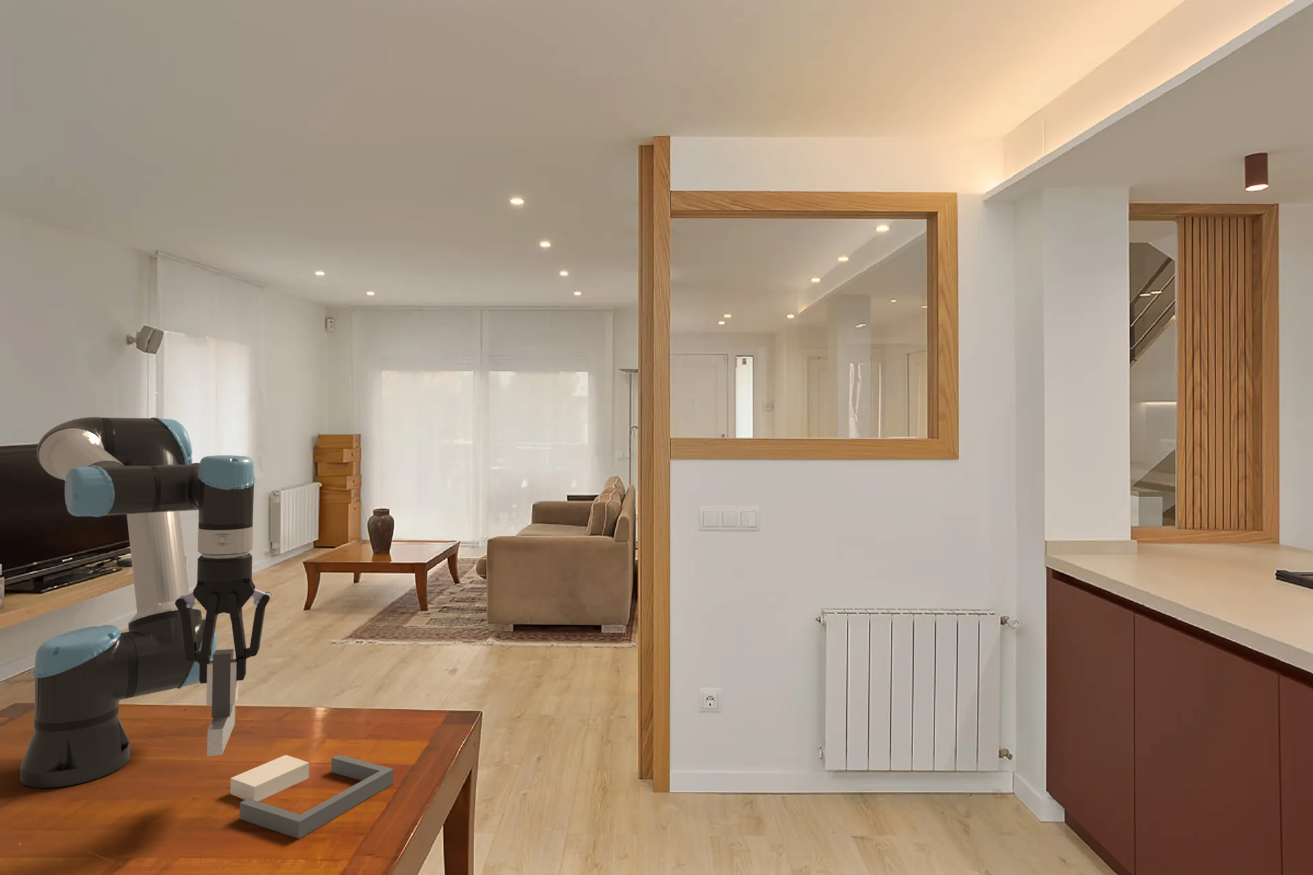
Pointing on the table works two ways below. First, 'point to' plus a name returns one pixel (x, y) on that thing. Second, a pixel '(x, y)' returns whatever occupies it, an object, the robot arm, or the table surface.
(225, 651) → the grey inverted t block
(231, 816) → the table surface
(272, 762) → the cream tile
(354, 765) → the frame
